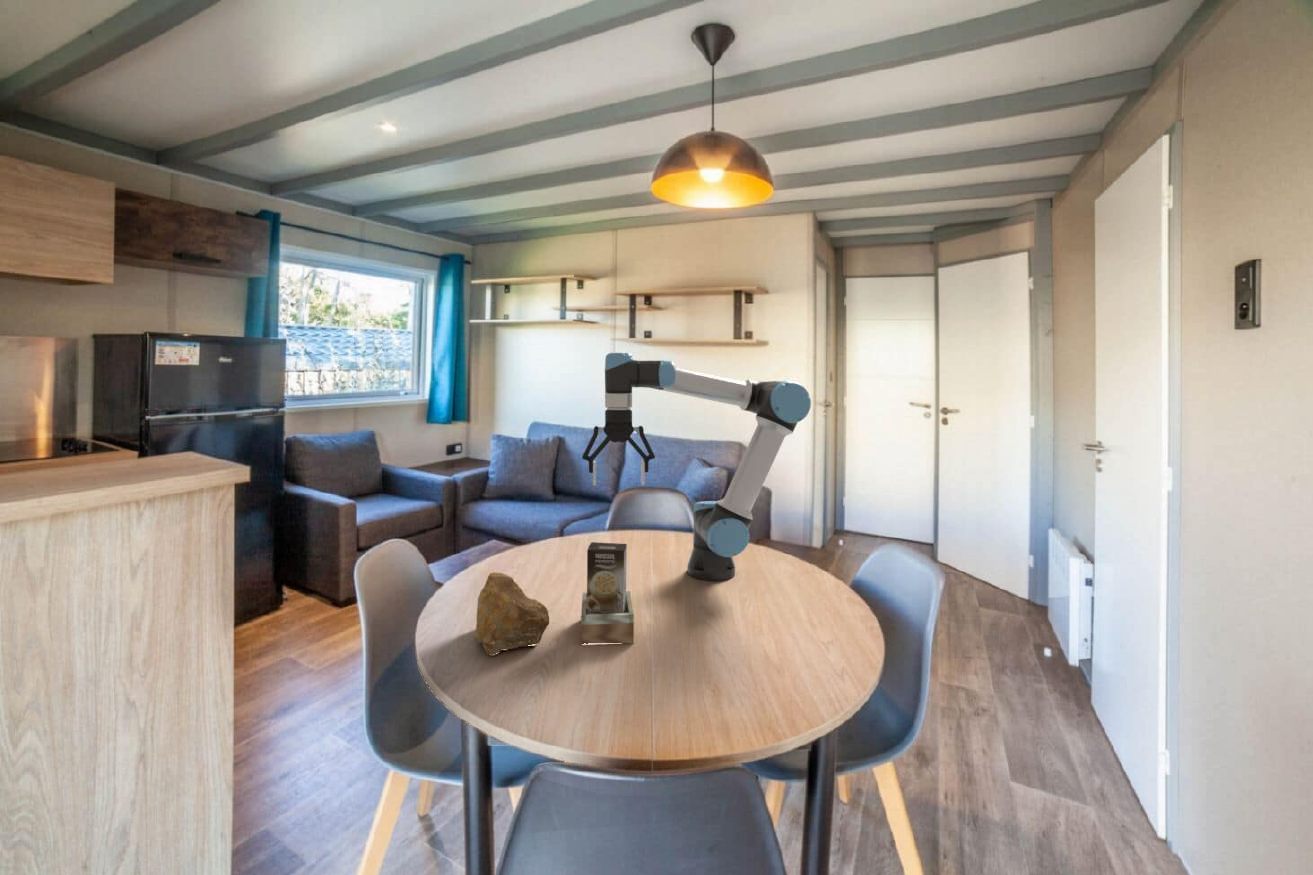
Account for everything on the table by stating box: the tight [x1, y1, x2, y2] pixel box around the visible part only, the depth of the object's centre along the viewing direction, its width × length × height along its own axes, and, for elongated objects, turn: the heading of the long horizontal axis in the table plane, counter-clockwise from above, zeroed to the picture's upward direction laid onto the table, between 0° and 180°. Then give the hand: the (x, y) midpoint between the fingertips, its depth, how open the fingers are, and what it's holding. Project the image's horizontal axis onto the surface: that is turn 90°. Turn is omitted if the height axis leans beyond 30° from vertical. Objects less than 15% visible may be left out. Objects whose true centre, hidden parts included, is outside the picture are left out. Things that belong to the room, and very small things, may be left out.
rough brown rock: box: [474, 571, 550, 655], centre depth 133 cm, size 23×17×15 cm
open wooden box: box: [580, 590, 635, 644], centre depth 140 cm, size 12×15×7 cm
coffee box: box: [586, 541, 628, 614], centre depth 139 cm, size 9×6×16 cm
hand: (618, 484), depth 162 cm, fingers open, 13 cm apart
